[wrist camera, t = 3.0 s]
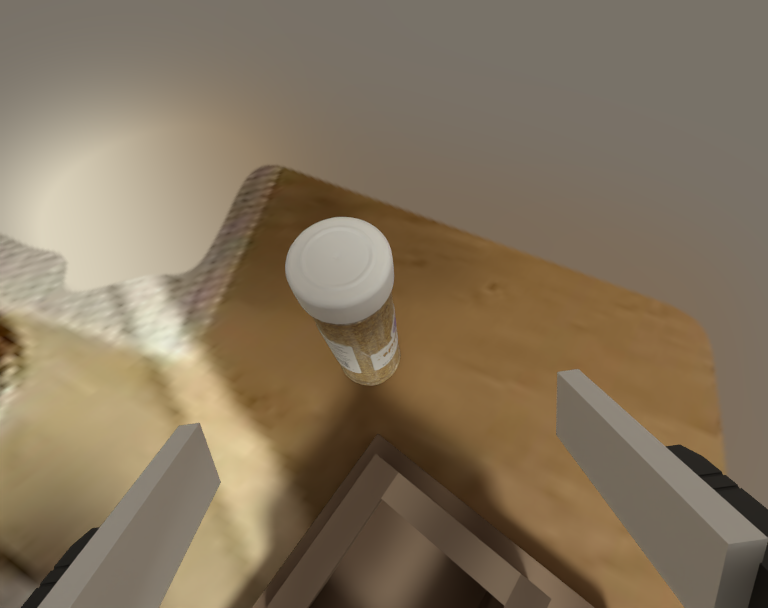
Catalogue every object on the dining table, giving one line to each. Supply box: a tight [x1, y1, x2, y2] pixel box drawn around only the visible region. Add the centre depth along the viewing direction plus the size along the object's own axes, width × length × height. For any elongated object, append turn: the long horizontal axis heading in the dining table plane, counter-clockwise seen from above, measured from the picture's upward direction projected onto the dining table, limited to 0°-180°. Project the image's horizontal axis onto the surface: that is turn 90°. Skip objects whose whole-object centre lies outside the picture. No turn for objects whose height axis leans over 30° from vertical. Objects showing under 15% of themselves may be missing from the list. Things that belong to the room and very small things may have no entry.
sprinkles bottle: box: [285, 217, 401, 386], centre depth 21 cm, size 5×5×13 cm
